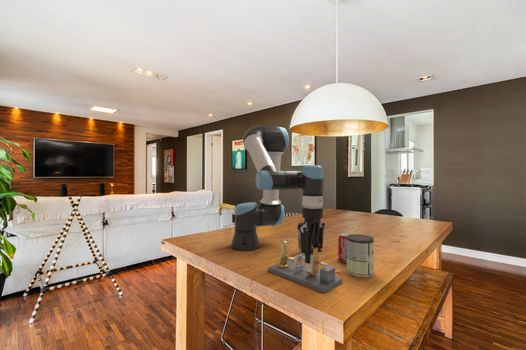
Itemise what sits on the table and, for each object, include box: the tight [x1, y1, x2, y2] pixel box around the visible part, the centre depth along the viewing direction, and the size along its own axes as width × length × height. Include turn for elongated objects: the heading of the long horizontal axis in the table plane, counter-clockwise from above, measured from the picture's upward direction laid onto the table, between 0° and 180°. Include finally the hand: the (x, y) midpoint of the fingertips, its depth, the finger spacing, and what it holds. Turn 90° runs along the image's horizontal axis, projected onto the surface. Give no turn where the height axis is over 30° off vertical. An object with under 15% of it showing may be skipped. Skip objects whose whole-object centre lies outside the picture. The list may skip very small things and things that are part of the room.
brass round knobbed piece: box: [277, 239, 294, 268], centre depth 102 cm, size 8×5×10 cm, turn 44°
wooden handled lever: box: [293, 246, 329, 276], centre depth 93 cm, size 13×5×10 cm, turn 44°
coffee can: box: [346, 233, 375, 278], centre depth 100 cm, size 10×10×14 cm
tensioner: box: [319, 265, 336, 284], centre depth 88 cm, size 3×5×4 cm, turn 134°
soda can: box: [337, 232, 352, 264], centre depth 113 cm, size 7×7×12 cm
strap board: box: [267, 260, 343, 294], centre depth 96 cm, size 26×12×2 cm, turn 44°
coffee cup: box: [297, 222, 313, 257], centre depth 122 cm, size 8×8×15 cm
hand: (312, 270), depth 93 cm, fingers closed on wooden handled lever, 3 cm apart
